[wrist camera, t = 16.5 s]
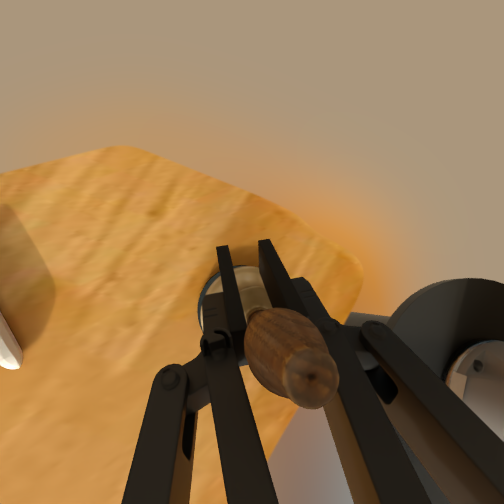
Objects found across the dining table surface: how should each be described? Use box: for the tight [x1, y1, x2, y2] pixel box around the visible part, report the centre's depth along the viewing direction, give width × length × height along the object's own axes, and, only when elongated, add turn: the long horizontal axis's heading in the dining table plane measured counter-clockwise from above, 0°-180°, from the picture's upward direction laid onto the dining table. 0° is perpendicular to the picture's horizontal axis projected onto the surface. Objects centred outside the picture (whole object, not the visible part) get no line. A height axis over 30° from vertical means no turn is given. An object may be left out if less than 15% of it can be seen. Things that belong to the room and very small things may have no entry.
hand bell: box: [201, 266, 339, 409], centre depth 13 cm, size 8×8×16 cm
